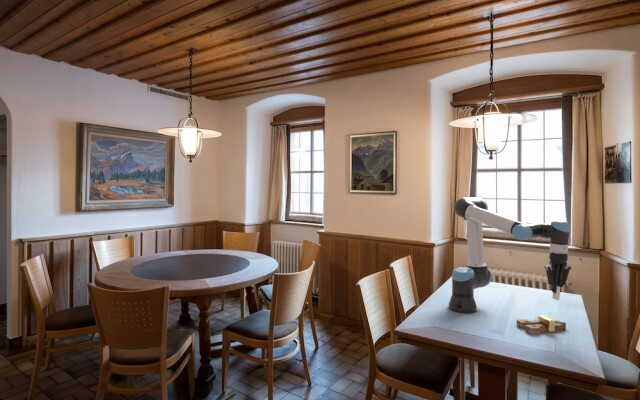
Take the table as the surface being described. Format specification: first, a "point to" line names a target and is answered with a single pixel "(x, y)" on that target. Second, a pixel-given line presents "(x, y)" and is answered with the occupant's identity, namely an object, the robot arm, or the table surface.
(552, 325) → the lock collar
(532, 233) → the robot arm
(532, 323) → the tongs moving arm
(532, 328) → the tongs fixed arm
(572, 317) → the table surface
